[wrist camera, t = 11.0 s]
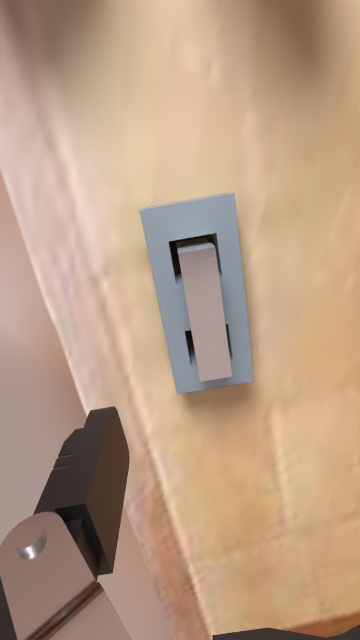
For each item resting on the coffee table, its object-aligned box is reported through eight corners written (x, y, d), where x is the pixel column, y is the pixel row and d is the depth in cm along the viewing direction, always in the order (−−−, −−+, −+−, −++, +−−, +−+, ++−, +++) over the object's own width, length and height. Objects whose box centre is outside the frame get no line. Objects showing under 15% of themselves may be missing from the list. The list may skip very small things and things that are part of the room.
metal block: (204, 234, 29) (215, 246, 22) (219, 339, 33) (232, 376, 26) (175, 239, 29) (178, 253, 22) (193, 343, 33) (200, 381, 26)
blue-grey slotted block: (226, 193, 28) (234, 193, 25) (245, 362, 34) (254, 381, 30) (143, 208, 28) (139, 210, 25) (176, 374, 34) (177, 394, 30)
